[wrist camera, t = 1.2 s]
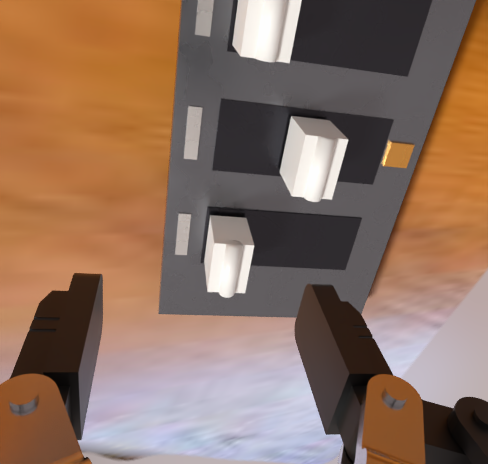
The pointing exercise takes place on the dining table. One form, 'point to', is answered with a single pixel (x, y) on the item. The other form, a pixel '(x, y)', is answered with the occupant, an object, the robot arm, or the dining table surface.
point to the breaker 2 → (266, 29)
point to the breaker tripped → (312, 158)
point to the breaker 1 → (228, 255)
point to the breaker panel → (274, 139)
